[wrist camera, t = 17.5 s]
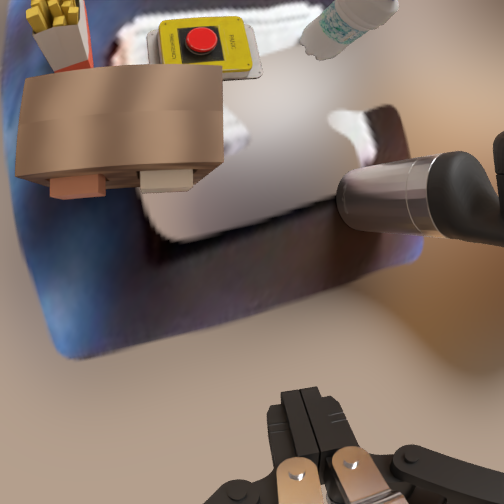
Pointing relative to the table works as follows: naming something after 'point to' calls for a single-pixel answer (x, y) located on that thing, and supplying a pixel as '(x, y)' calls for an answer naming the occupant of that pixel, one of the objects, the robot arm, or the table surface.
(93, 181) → the terracotta key
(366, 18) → the bottle
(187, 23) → the emergency button
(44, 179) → the key panel
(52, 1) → the french fries container
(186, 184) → the ivory key
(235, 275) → the table surface
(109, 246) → the table surface
